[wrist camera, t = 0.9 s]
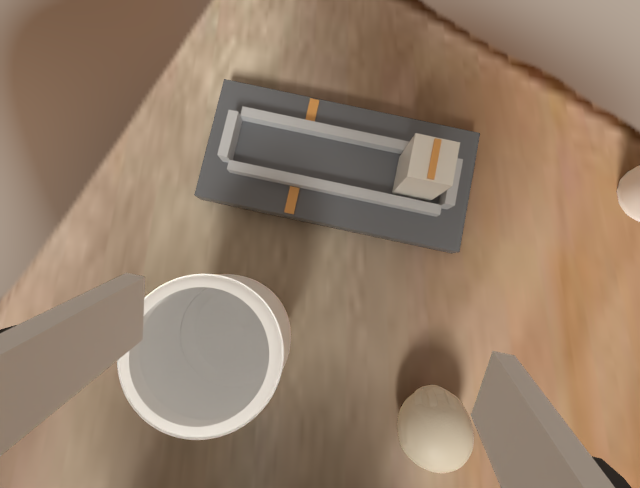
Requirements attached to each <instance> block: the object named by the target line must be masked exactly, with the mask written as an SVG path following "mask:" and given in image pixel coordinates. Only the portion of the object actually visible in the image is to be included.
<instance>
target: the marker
mask: <svg viewBox="0 0 640 488" xmlns="http://www.w3.org/2000/svg"><path fill="white" fill-rule="evenodd" d="M318 105H319V100H317V99H312V98H310V101H309V106H308V110H307V114H306V119H305V120H310V121H314V122H315V118H316V114H317V109H318ZM299 189H300V188H297V187H292V186H290V189H289V193H288V197H287V202H286V206H285V210H284V212H285V213H289V214H294V211H295V207H296V202H297V198H298V193H299Z"/></svg>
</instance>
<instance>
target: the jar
mask: <svg viewBox="0 0 640 488" xmlns="http://www.w3.org/2000/svg"><path fill="white" fill-rule="evenodd" d="M290 345H291V327H290V322H289V318H288V315H287V312H286V310H285V308H284V306H283V304H282V303H281V301H280V300H279V298H278V297H277V296H276V295H275V294H274V293H273V292H272V291H271V290H270V289H269V288H268V287H266V286H265V285H263V284H262V283H260V282H258V281H256V280H254V279H251V278H248V277H245V276H241V275H234V274H193V275H187V276H183V277H179V278H176V279H173V280H171V281H169V282H166V283H164V284H163V285H161V286H159V287H158V288H156V289H155V290H153V291H152V292H150V293H149V294H148V295H147V296H146V297H145V298H144V317H143V340H142V341H141V342H139V343H138V344H137V345H136V346H134V347H133V348H132V349H131V350H130V351H128V352H127V353H126V354H125V355H123V356H122V357H121V358H120V359H119V360H117V369H118V375H119V380H120V384H121V387H122V390H123V392H124V394H125V396H126V398H127V400H128V402H129V403H130V405H131V406H132V408H133V409H134V410H135V412H136V413H137V414H138V415H139V416H140V417H141V418H142V419H143V420H144V421H145V422H147V423H148V424H149V425H151V426H152V427H154V428H155V429H157V430H159V431H161V432H163V433H165V434H167V435H170V436H173V437H177V438H181V439H188V440H206V439H213V438H218V437H221V436H224V435H227V434H230V433H232V432H234V431H236V430H238V429H240V428H242V427H243V426H245V425H246V424H248V423H249V422H250V421H252V420H253V419H254V418H255V417H256V416H257V415H258V414H259V413H260V412H261V411H262V410H263V409H264V408H265V406H266V405H267V404H268V402H269V401H270V399H271V398H272V396H273V394H274V392H275V390H276V388H277V386H278V383H279V380H280V377H281V373H282V370H283V368H284V366H285V364H286V361H287V358H288V355H289V351H290Z"/></svg>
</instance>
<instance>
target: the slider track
mask: <svg viewBox="0 0 640 488" xmlns="http://www.w3.org/2000/svg"><path fill="white" fill-rule="evenodd" d="M310 98H311V97H307V96H302V95H297V94H293V93H288V92H283V91H278V90H274V89H269V88H264V87H259V86H255V85H250V84H245V83H240V82H236V81H231V80H226V79H224V82H223V86H222V90H221V94H220V98H219V102H218V105H217V109H216V113H215V117H214V121H213V125H212V129H211V133H210V137H209V140H208V144H207V148H206V152H205V156H204V160H203V164H202V168H201V172H200V176H199V179H198V183H197V187H196V191H195V196H197V197H198V198H200V199H201V200H206V201H211V202H215V203H220V204H225V205H229V206H234V207H238V208H243V209H248V210H252V211H257V212H262V213H266V214H271V215H276V216H280V217H285V218H290V219H294V220H299V221H304V222H308V223H313V224H318V225H322V226H327V227H332V228H336V229H341V230H345V231H350V232H355V233H359V234H364V235H369V236H373V237H378V238H383V239H387V240H392V241H397V242H401V243H406V244H411V245H415V246H420V247H425V248H429V249H434V250H439V251H443V252H448V253H456V252H459V251H460V245H461V239H462V234H463V228H464V222H465V217H466V211H467V205H468V199H469V194H470V188H471V182H472V177H473V171H474V165H475V160H476V154H477V148H478V142H479V137H480V133H477V132H472V131H468V130H463V129H458V128H453V127H449V126H444V125H439V124H434V123H430V122H425V121H420V120H416V119H411V118H406V117H401V116H397V115H392V114H387V113H382V112H378V111H373V110H368V109H363V108H359V107H354V106H349V105H345V104H340V103H335V102H330V101H326V100H321V99H317V100H319V105H318V109H317V114H316V118H315V122H314V121H310V120H305V119H306V114H307V110H308V106H309V101H310ZM312 99H316V98H312ZM415 133H418V134H423V135H427V136H432V137H437V138H441V139H446V140H451V141H456V142H460V147H459V152H458V158H457V163H456V169H455V174H454V180H453V186H452V187H450V188H449V189H447V190H446V191H444V192H443V193H441V194H440V195H438V196H437V197H436V198H434V199H433V200H431V201H425V200H421V199H416V198H411V197H407V196H402V195H397V194H393V193H392V191H393V186H394V180H395V175H396V170H397V165H398V160H399V156H400V155H401V153H402V152H403V151H404V149H405V148H406V146H407V145H408V143H409V142H410V140H411V139H412V137H413V136H414V135H415ZM290 186H292V187H297V188H300V189H299V193H298V198H297V202H296V207H295V211H294V214H289V213H285V212H284V210H285V206H286V202H287V197H288V193H289V189H290Z"/></svg>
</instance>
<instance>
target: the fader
mask: <svg viewBox="0 0 640 488" xmlns="http://www.w3.org/2000/svg"><path fill="white" fill-rule="evenodd" d="M459 147H460V142H456V141H451V140H446V139H441V138H437V137H432V136H427V135H423V134H418V133H415V135H414V136H413V137H412V139H411V140H410V142H409V143H408V145H407V146H406V148H405V149H404V151H403V152H402V153H401V155H400V156H399V160H398V165H397V170H396V175H395V180H394V186H393V191H392V193H393V194H397V195H402V196H407V197H411V198H416V199H421V200H425V201H431V200H433V199H434V198H436V197H437V196H438V195H440V194H441V193H443V192H444V191H446V190H447V189H449V188H450V187H452V186H453V180H454V174H455V169H456V163H457V158H458V152H459Z"/></svg>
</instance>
